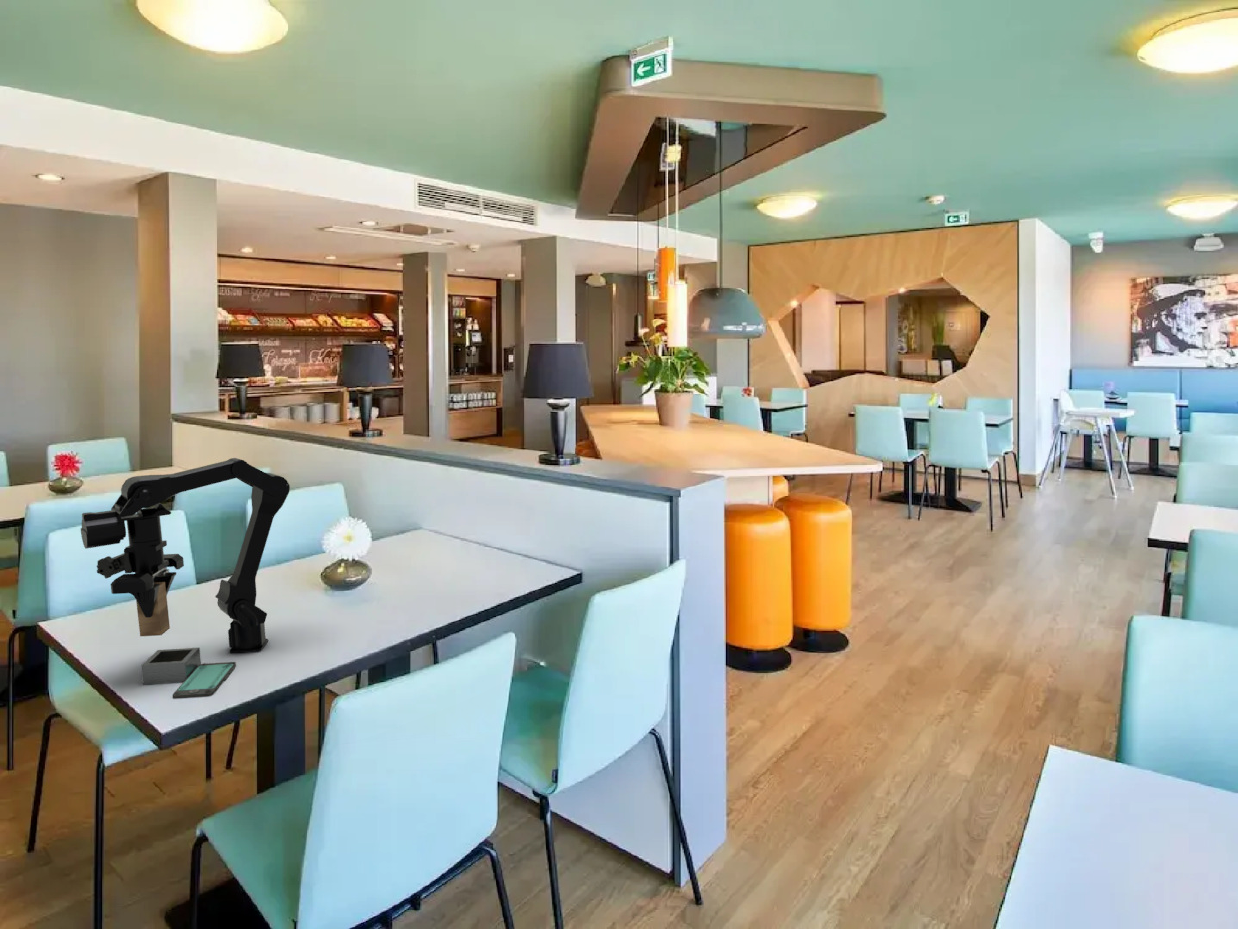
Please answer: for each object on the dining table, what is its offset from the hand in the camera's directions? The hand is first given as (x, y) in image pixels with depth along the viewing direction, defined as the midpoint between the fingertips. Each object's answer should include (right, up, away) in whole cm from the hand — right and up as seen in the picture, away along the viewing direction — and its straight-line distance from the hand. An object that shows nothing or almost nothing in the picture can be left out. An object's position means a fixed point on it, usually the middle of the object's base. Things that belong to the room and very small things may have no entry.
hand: (153, 613), depth 158 cm
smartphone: (+13, -13, -3) cm, 19 cm away
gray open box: (+4, -12, -1) cm, 13 cm away
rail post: (0, -4, +1) cm, 4 cm away
